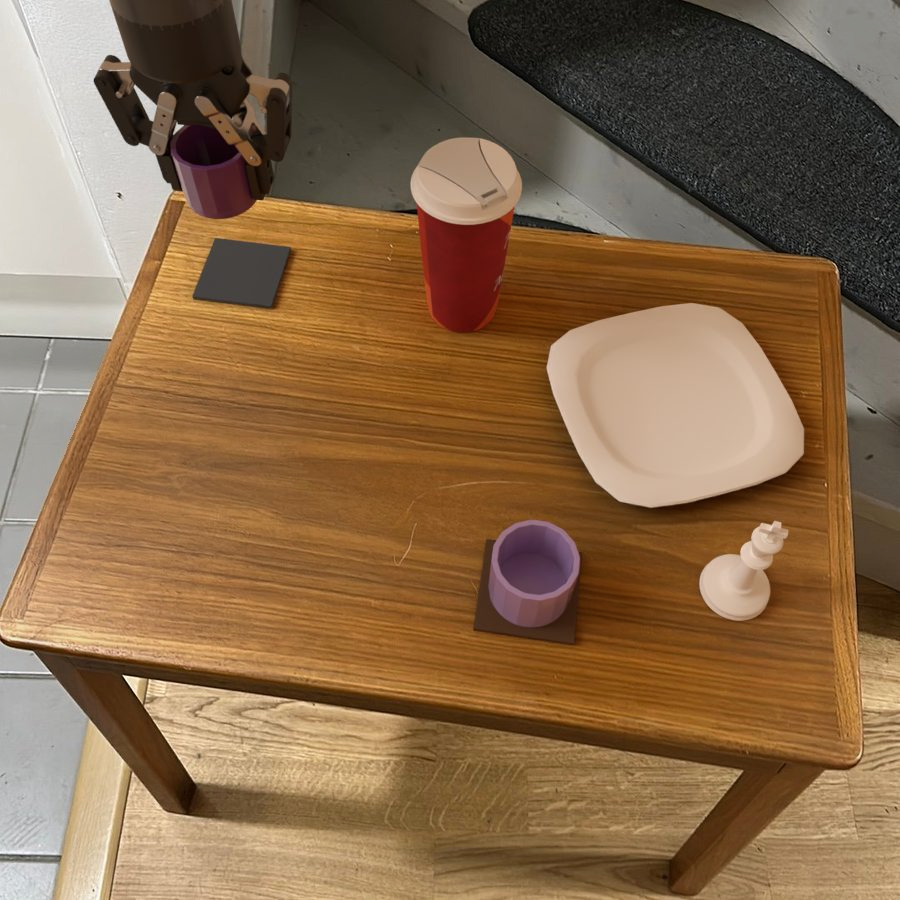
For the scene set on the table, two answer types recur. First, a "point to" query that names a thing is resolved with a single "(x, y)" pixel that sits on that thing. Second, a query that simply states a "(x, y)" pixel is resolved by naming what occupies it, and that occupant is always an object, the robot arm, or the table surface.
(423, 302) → the table surface
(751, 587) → the chess piece
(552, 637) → the front mat
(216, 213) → the purple faceted tumbler
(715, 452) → the plate
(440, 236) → the coffee cup
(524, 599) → the lavender faceted cup
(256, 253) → the back mat
